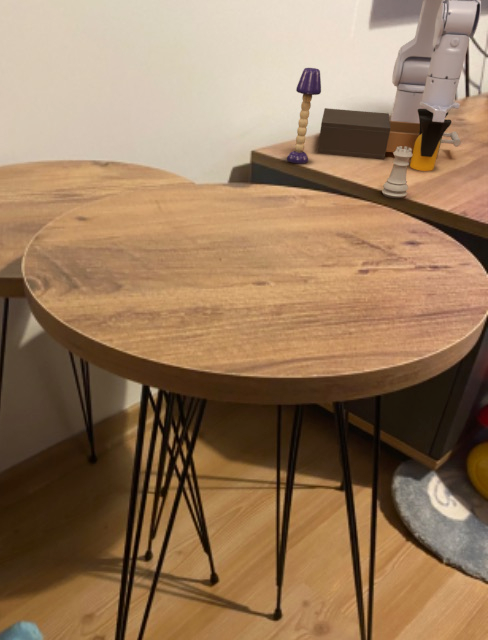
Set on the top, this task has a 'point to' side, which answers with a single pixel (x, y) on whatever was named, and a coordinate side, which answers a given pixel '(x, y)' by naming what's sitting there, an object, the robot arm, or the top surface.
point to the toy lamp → (305, 111)
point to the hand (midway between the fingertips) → (425, 152)
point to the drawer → (412, 136)
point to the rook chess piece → (398, 174)
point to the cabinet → (354, 133)
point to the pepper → (422, 157)
